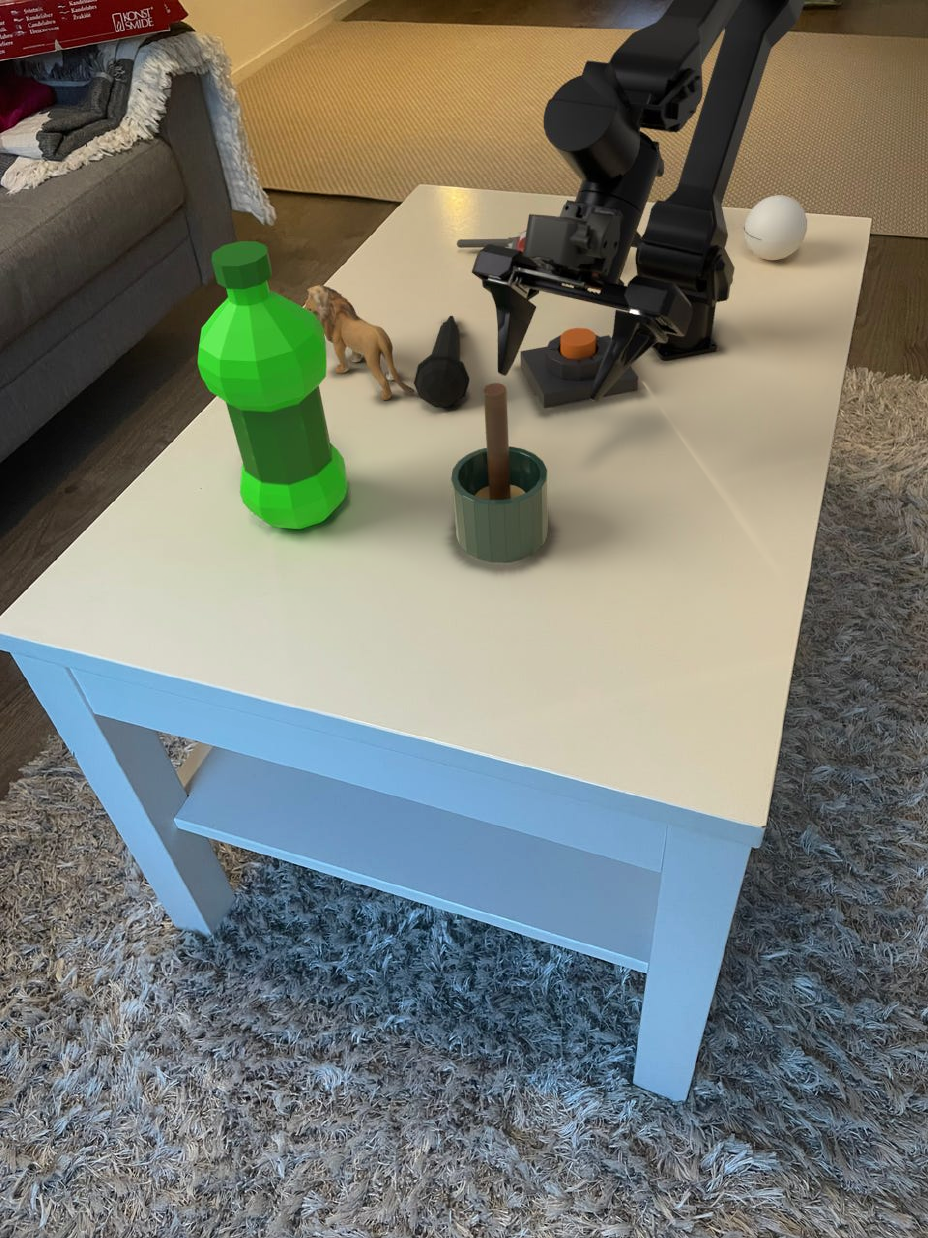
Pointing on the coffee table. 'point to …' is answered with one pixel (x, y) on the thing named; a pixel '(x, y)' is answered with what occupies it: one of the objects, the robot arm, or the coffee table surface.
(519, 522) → the green pen cup
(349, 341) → the lion figurine
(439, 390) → the microphone
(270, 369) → the plastic bottle
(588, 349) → the button
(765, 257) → the white ball
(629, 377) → the button unit
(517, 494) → the brown wooden dowel
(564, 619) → the coffee table surface
